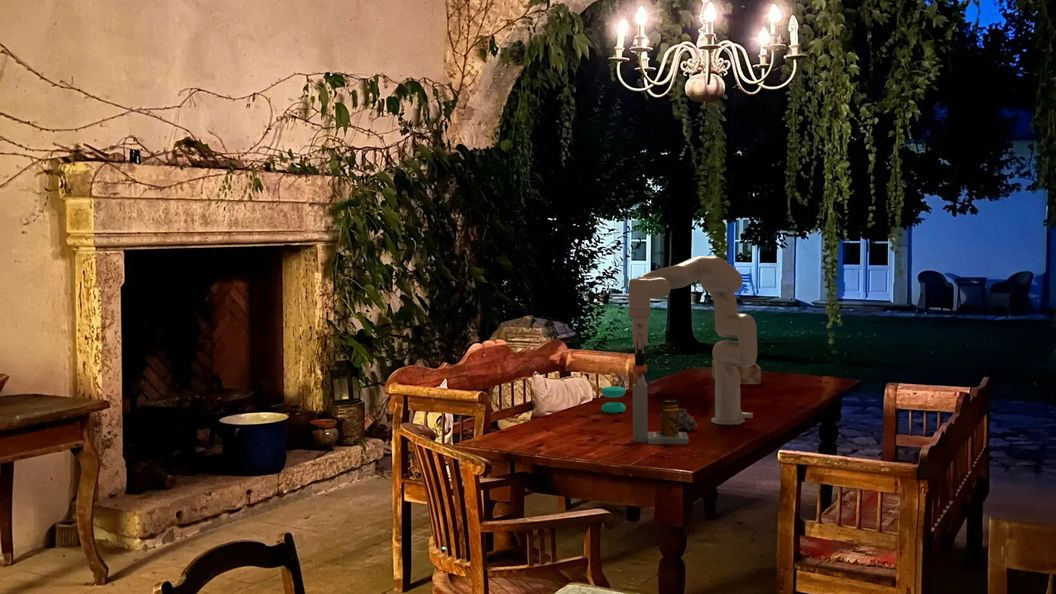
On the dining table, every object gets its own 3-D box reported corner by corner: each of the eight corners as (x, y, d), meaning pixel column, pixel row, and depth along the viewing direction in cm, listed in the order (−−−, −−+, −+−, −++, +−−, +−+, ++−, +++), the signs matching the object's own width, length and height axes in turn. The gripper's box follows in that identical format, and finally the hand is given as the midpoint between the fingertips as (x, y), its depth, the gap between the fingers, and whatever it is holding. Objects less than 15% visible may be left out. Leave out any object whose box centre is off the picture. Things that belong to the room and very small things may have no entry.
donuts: (627, 386, 435) (623, 389, 426) (627, 409, 436) (623, 414, 426) (603, 385, 438) (599, 389, 428) (603, 409, 438) (599, 413, 429)
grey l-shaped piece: (686, 437, 377) (685, 382, 375) (688, 444, 365) (688, 387, 363) (633, 437, 378) (632, 382, 377) (633, 444, 366) (633, 387, 365)
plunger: (647, 400, 373) (646, 364, 373) (647, 402, 368) (647, 366, 368) (632, 400, 374) (632, 364, 373) (633, 402, 369) (632, 366, 368)
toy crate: (752, 378, 522) (752, 360, 521) (760, 387, 493) (760, 368, 492) (711, 378, 523) (711, 360, 523) (717, 387, 495) (717, 368, 494)
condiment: (680, 436, 367) (680, 402, 367) (655, 436, 368) (655, 402, 367) (679, 432, 375) (679, 399, 374) (655, 432, 375) (655, 399, 375)
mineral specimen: (655, 420, 391) (671, 398, 391) (665, 424, 399) (680, 403, 398) (680, 438, 384) (696, 416, 384) (689, 443, 392) (704, 421, 392)
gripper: (650, 315, 361) (650, 368, 362) (649, 311, 376) (649, 362, 377) (629, 315, 362) (629, 367, 363) (628, 312, 377) (628, 362, 378)
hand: (639, 365), depth 370 cm, fingers closed
